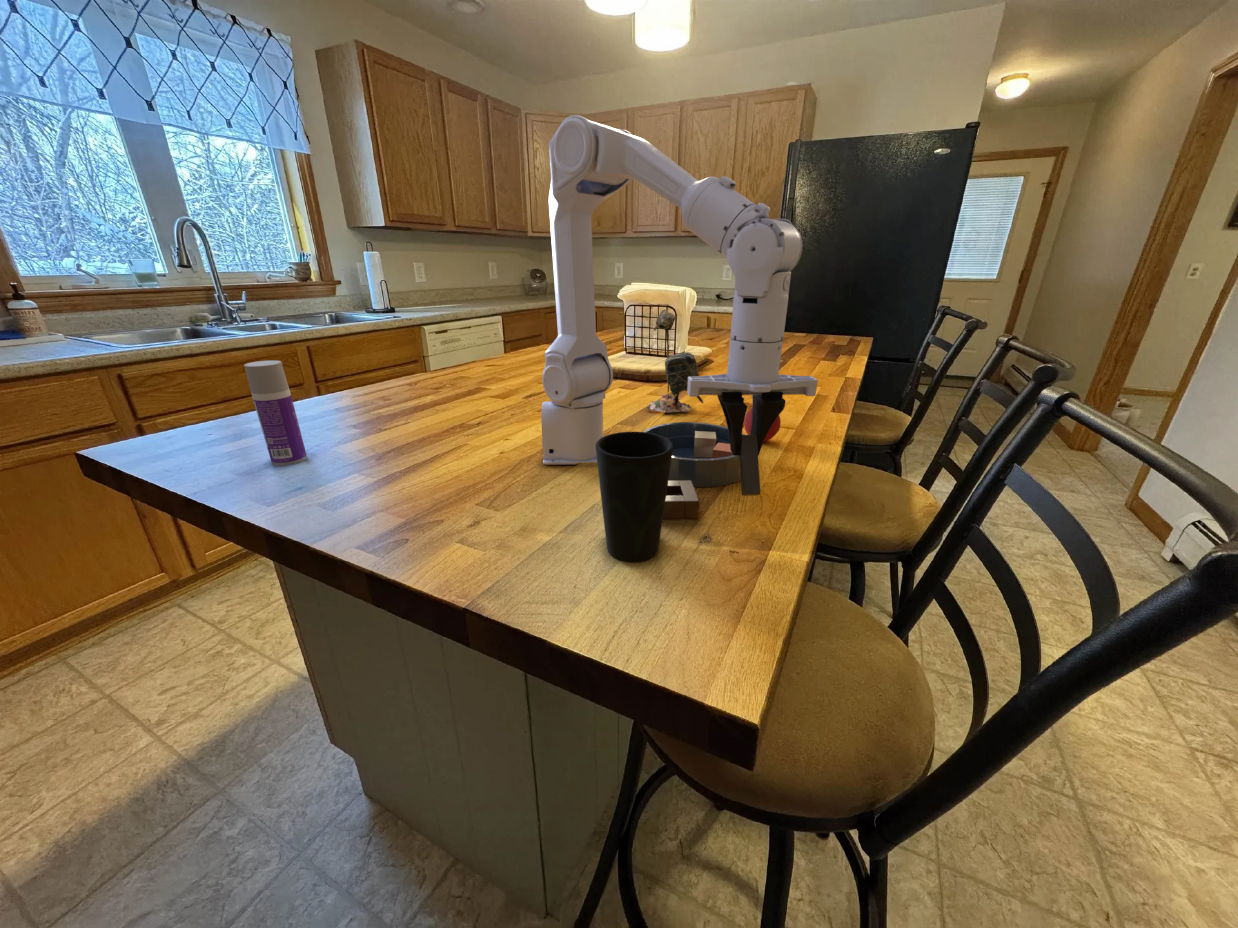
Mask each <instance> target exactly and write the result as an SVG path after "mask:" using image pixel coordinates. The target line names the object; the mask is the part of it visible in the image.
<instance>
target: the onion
mask: <svg viewBox="0 0 1238 928" xmlns="http://www.w3.org/2000/svg"><path fill="white" fill-rule="evenodd" d="M752 411H753V406H752V407H751V408H750V409H749V410H748V411H747V412H746V414H745V419H744V424H743V425H744V430H745V433H746V435H750V433H751V426H752ZM781 422H782V420H781V416H780V415H779V416H778V417H777V418H776V420H775V421H774V423H773V424H772V426H771V428H770V429H769V431H768V433H767V435H766V437H765V440H764V442H763V443H766V442H768V441H769V440H771V439H772V438H774V437H775V436H776V435H777V434H778V432H779V431H780V429H781Z"/></svg>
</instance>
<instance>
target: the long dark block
mask: <svg viewBox="0 0 1238 928" xmlns="http://www.w3.org/2000/svg"><path fill="white" fill-rule="evenodd" d="M739 457H740V475H741V480H740V491H741V493H740V494H741V497H751V496H752V497H753V496H754V497H755V496H758V495H761V481H760V479H761V478H760V465H759V463H760V461H759V455H758V445H757V435H748V434H745V435H742V440H741V449H740V455H739Z"/></svg>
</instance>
